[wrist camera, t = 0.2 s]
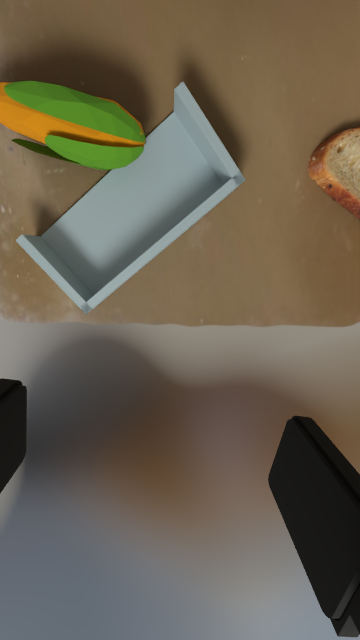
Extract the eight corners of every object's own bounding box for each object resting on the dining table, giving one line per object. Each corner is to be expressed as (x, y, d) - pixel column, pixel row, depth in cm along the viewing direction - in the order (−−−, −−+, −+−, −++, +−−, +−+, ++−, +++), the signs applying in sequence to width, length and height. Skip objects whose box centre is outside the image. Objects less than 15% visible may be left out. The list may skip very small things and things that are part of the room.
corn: (133, 164, 26) (-61, 114, 25) (142, 189, 34) (-7, 151, 32) (147, 86, 25) (-57, 29, 24) (153, 130, 32) (-1, 89, 31)
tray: (180, 106, 32) (182, 81, 27) (234, 189, 35) (245, 179, 30) (36, 241, 36) (15, 240, 31) (96, 306, 39) (85, 314, 34)
